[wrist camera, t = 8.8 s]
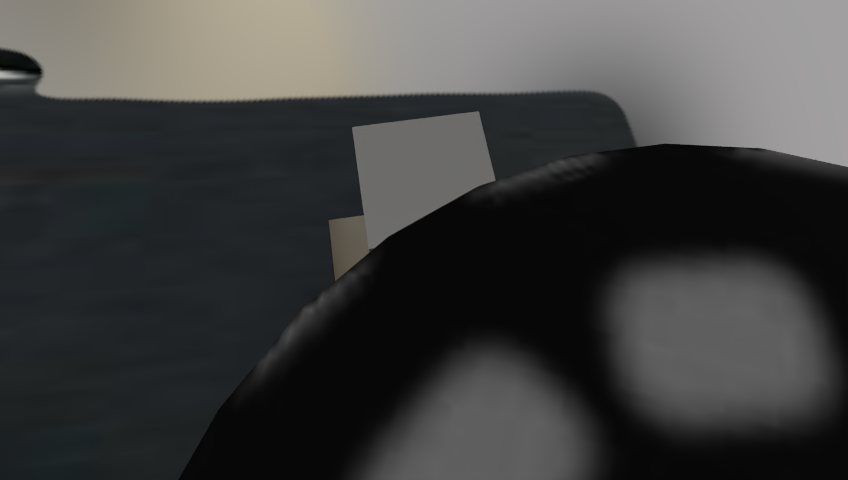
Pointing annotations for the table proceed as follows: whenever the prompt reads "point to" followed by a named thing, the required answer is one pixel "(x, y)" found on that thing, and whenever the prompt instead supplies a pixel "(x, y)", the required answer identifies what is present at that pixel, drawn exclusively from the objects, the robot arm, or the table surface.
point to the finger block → (417, 168)
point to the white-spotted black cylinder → (573, 334)
